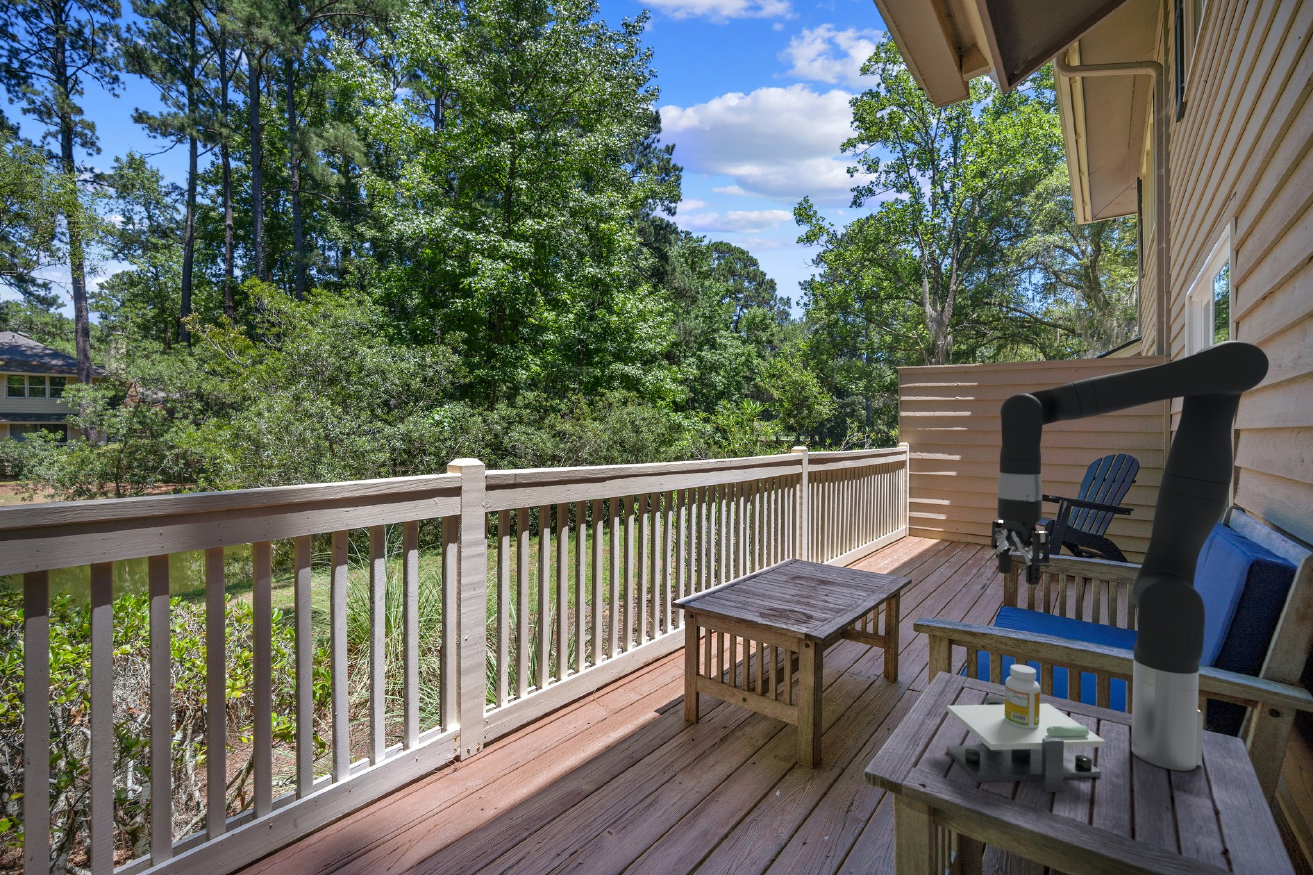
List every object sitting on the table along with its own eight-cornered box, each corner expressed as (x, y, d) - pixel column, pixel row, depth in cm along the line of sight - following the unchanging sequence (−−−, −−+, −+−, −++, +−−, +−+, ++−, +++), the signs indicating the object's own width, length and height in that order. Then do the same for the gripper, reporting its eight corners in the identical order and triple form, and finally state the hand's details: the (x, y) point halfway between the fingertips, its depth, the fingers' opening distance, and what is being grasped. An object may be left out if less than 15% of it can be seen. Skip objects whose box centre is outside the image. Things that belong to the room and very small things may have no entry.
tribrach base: (1046, 737, 122) (1047, 693, 122) (1117, 788, 105) (1118, 738, 105) (936, 741, 121) (937, 697, 121) (990, 794, 104) (991, 743, 104)
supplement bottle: (1027, 715, 116) (1028, 662, 115) (1046, 729, 110) (1047, 674, 110) (998, 715, 116) (999, 662, 115) (1015, 729, 110) (1017, 674, 110)
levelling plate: (1047, 708, 121) (1048, 694, 121) (1105, 746, 107) (1105, 730, 107) (946, 710, 119) (946, 696, 119) (991, 749, 105) (991, 733, 105)
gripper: (980, 492, 131) (978, 570, 131) (1025, 501, 117) (1023, 588, 117) (1014, 491, 132) (1013, 569, 132) (1063, 500, 117) (1062, 587, 118)
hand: (1018, 578), depth 125 cm, fingers open, 8 cm apart
